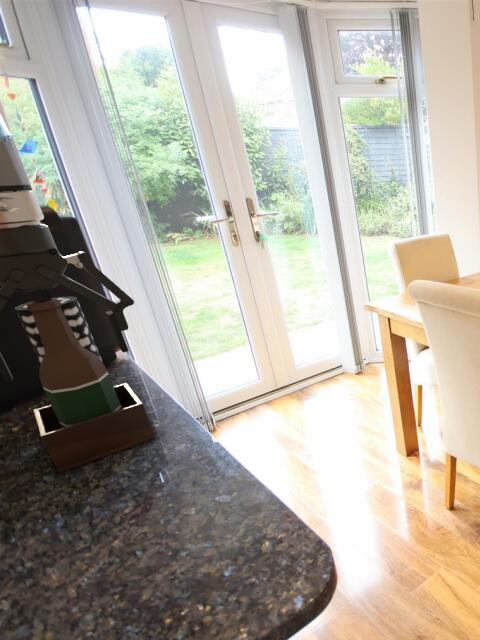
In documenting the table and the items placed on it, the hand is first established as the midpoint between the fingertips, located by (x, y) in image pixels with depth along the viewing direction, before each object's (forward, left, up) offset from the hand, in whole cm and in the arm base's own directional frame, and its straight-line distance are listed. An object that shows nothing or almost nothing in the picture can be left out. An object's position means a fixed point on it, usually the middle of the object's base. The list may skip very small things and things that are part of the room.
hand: (70, 364), depth 72 cm
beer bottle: (0, 0, -14) cm, 14 cm away
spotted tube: (-19, +12, -14) cm, 27 cm away
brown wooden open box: (0, 0, -14) cm, 14 cm away
